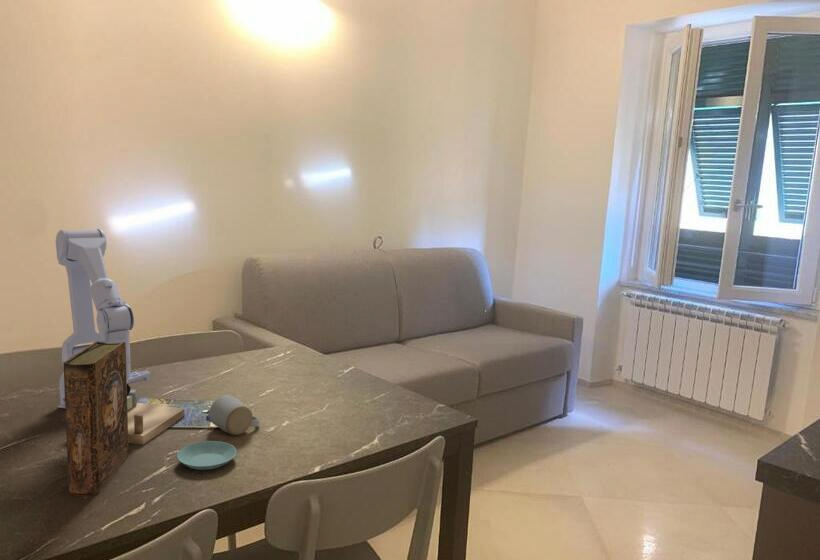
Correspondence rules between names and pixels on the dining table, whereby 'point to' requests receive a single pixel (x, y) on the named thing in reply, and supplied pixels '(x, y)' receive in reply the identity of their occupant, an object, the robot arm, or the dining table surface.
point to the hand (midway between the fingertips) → (117, 416)
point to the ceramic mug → (231, 415)
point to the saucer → (206, 455)
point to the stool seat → (150, 421)
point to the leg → (131, 399)
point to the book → (95, 416)
